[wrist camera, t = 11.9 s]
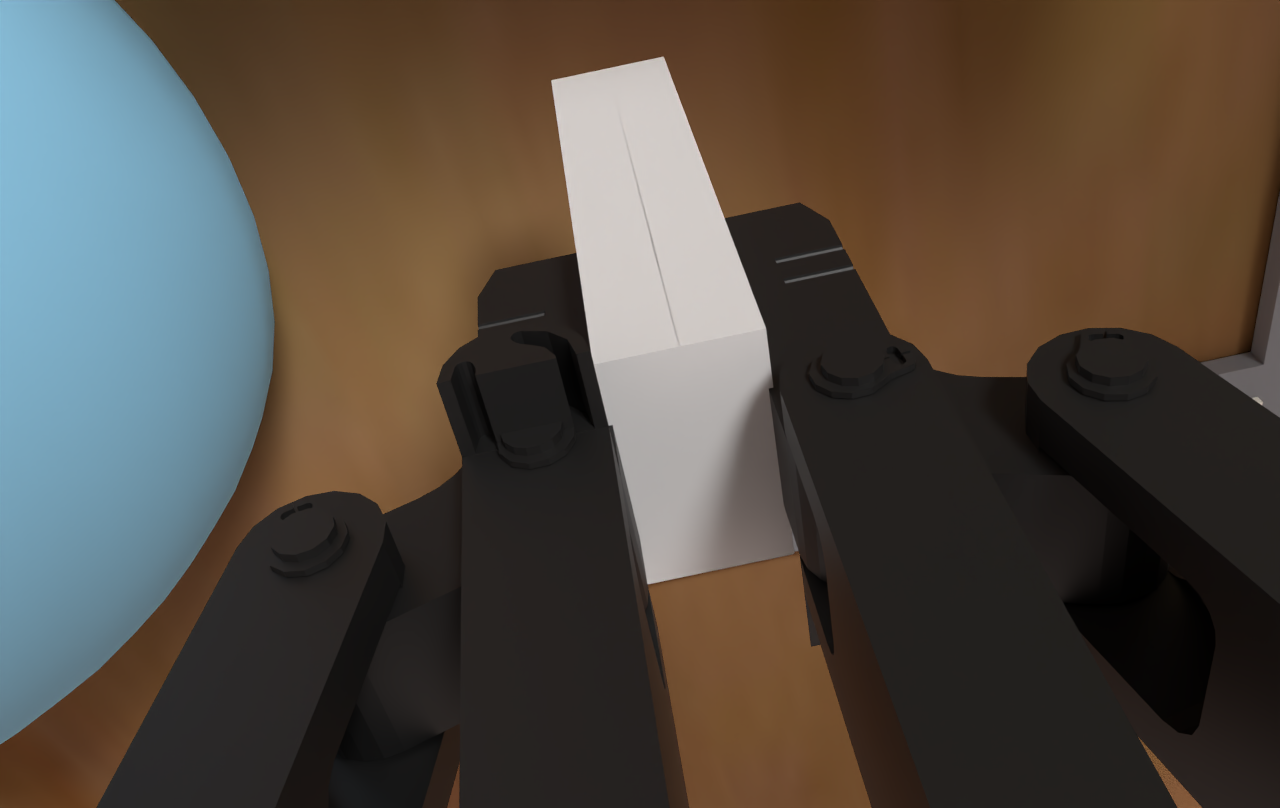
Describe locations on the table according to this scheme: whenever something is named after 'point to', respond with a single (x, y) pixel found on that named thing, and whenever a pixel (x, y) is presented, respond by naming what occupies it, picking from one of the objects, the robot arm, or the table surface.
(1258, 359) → the label board
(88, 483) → the sugar bowl
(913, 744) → the robot arm
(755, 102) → the table surface
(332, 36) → the table surface
